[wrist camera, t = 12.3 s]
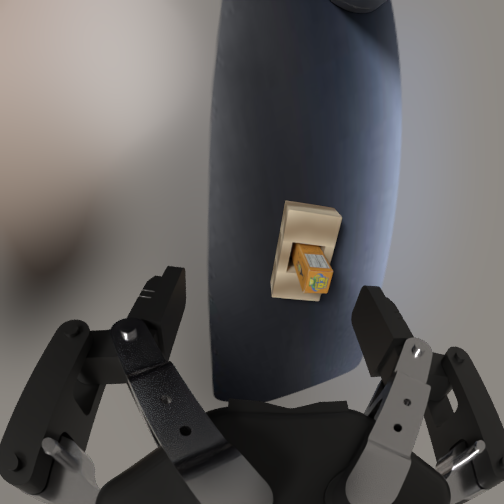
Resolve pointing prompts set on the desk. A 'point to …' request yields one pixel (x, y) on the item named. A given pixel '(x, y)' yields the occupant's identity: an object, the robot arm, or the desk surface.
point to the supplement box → (311, 268)
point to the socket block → (307, 232)
